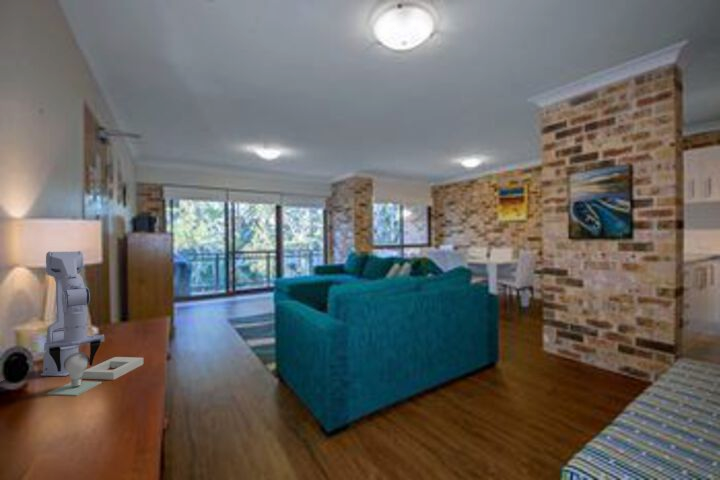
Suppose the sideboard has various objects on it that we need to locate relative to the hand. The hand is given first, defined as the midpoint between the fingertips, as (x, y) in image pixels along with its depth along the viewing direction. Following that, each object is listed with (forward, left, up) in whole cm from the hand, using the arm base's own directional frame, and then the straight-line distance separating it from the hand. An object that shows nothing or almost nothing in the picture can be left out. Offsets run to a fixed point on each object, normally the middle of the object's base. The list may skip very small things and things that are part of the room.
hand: (75, 367), depth 105 cm
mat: (0, 0, -7) cm, 7 cm away
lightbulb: (0, +1, -7) cm, 7 cm away
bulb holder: (+1, +14, -7) cm, 16 cm away
